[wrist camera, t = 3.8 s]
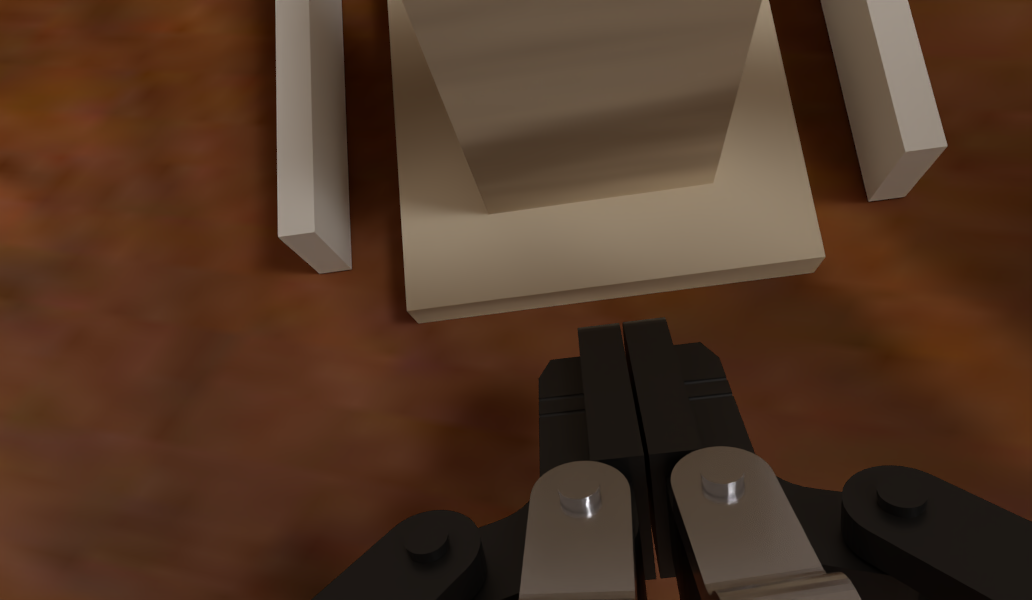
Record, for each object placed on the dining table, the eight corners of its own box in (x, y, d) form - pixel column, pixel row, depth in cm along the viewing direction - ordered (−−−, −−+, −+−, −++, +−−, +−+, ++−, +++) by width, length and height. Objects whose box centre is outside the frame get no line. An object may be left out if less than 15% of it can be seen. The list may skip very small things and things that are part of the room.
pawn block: (812, 274, 18) (991, 31, 10) (419, 324, 19) (249, 143, 10) (741, -58, 21) (829, -488, 12) (398, -2, 22) (247, -368, 13)
